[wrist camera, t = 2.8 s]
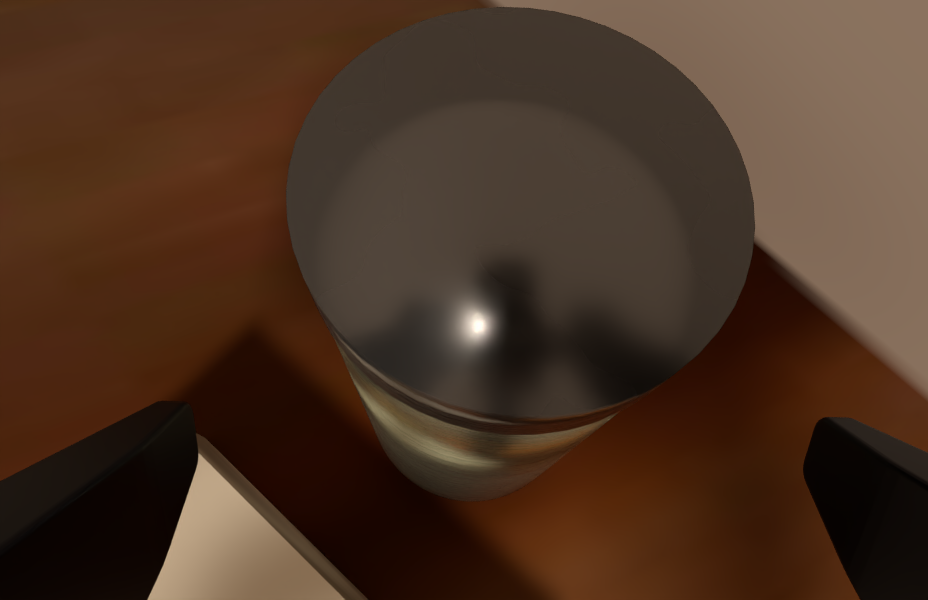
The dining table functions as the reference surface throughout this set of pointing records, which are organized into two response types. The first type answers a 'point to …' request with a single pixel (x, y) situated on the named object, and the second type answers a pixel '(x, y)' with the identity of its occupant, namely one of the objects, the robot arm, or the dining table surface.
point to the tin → (514, 236)
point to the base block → (241, 545)
